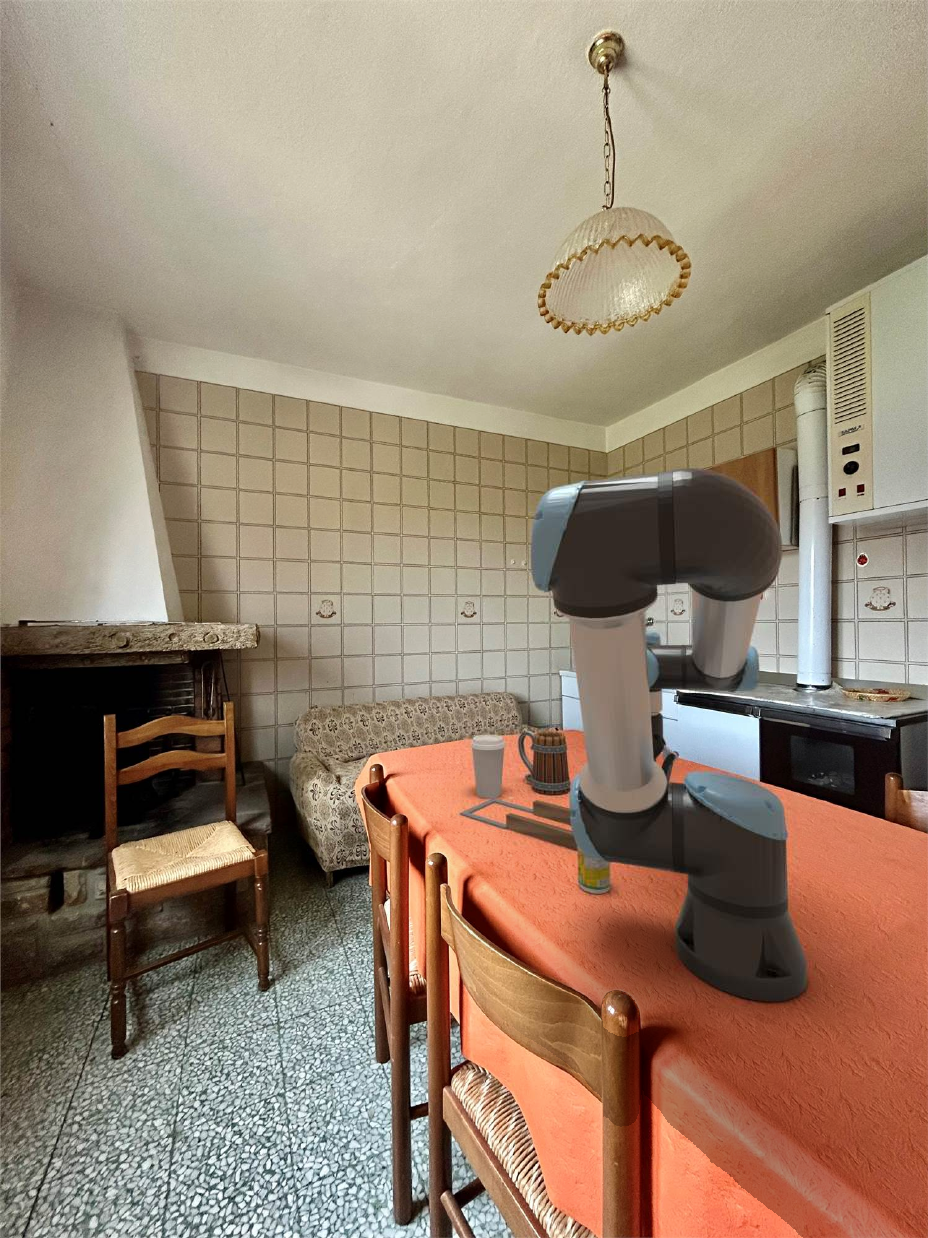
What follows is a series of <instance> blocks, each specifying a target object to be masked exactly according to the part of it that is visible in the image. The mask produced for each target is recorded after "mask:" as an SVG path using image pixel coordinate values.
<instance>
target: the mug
mask: <svg viewBox="0 0 928 1238" xmlns="http://www.w3.org/2000/svg"><path fill="white" fill-rule="evenodd" d="M527 736H528V737H529V738H530V740H531V746H530V747H529V749H530V750H531V751H533V753H532V757H533V759H532V762H531V761H530V759H529V758H528V756H527V753H526V750H525V738H526V737H527ZM567 746H568V745H567V741H566V735H565V734H564V733H563V732H559V731H553V730H552V731H551V730H550V731H549V730H548V731H546V730H545V731H538V732H536V733H534V731H531V730H526V731H523V732H521V733H520V735H519V737H518V740H517V748H518V754H519V756H520V758H521V761H522V762H523V764H524V765H525V767H526V768H527V770H528V771H529V773H527V774H524V778H525V780H526V781H527V782H529V783H530V784H531V788H532V790H533V791H534V792H536V793H538V794H540V795H546V796H558V795H559V796H560V795H564V794H566V793H568V792H569V791H570V790H571V779H570V774H569V772H570V771H569V762H568V753H567V751H568V747H567Z"/></svg>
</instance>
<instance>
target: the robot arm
mask: <svg viewBox="0 0 928 1238" xmlns="http://www.w3.org/2000/svg"><path fill="white" fill-rule="evenodd" d="M533 519H534V520H533V524H532V528H531V529H532V530H531V538H530V539H531V540H530V569H531V570H530V572H531V577H532V581H533V582H534V586H535V588H536V589H537V590H539V591H543V592H544V593H549V592H551V594H552V599H553V600H552V601H553V606H554V609H555V610H556V612H558V613H559V614H560V615H562V616H564V617H565V618H567V619H568V621H569V623H568V624H569V628H570V629H569V631H570V635H571V636H570V639H571V644H572V646H571V647H572V651H573V653H572V654H573V660H574V666H575V674H576V675H575V676H576V682H577V683H576V684H577V689H578V699H579V705H580V712H581V720H582V728H583V736H584V744H585V750H586V751H585V752H586V758H587V761H586V762H585V763H584V765H582V768H581V770H580V772H579V773H577V774H576V775H575V776H574V777H573V779H572V782H571V784H570V790H569V791H570V792H569V808H570V811H571V817H570V820H571V825H570V827H571V831H572V832H573V835H574V839H575V841H576V844H577V846H578V847H579V849H580V850H581V851H582V852H583V853H584V854H585V855H587V856H589V857H593V858H597V859H601V860H604V861H606V862H610V864H612V863H615V864H616V863H617V864H622V865H626V866H634V867H641V868H646V869H653V870H657V871H658V870H659V871H665V872H670V873H671V872H672V873H677V874H682V875H686V876H687V892H686V895H685V898H684V900H683V904H682V906H681V909H680V912H679V915H678V918H677V920H676V923H675V927H674V928H675V930H674V932H675V935H674V936H675V937H674V939H675V940H674V941H675V944H674V945H675V950H676V953H677V955H678V958H679V959H680V961H681V962H682V964H684V966H686V968H687V969H688V970H689V971H691V973H693V974H694V975H695V976H697V977H698V978H699V979H700V980H702V981H704V982H705V983H707V984H709V985H711V986H713V987H714V988H717V989H719V990H721V991H723V992H726V993H728V994H731V995H734V996H737V997H740V998H744V999H749V1000H753V1001H762V1002H782V1001H788V1000H791V999H794V998H797V997H798V996H800V995H801V994H802V993H804V991H805V990H806V988H807V985H808V966H807V965H808V963H807V958H806V955H805V952H804V949H803V946H802V944H801V941H800V939H799V936H798V934H797V931H796V928H795V926H794V922H793V920H792V917H791V914H790V911H789V890H788V887H789V886H788V857H787V856H788V855H787V853H788V852H787V840H788V838H789V832H788V830H787V824H786V814H785V807H784V805H783V802H782V800H780V797H778V796H777V795H776V794H775V793H774V792H772V791H771V790H769V789H768V788H766V787H765V786H762V785H760V784H758V783H755V782H753V781H750V780H747V779H745V778H741V777H738V776H735V775H731V774H728V773H727V774H725V773H721V772H714V771H708V770H707V771H706V770H705V771H691V772H689V773H687V774H686V775H685V778H683V783H682V782H681V783H680V782H672V781H670V779H671V775H672V771H673V766H674V763H675V762H676V761H677V759H678V758H679V755H680V754H679V752H678V751H676V750H675V751H673V750H672V749H671V748H670V747H668V746H667V742H666V741H665V737H664V716H663V714H662V713H661V712H663V690H679V691H682V690H683V691H684V690H686V691H687V690H689V691H705V692H706V691H709V692H710V691H712V692H729V693H737V692H753V691H754V690H756V689H757V688H758V687H759V684H760V683H759V682H760V659H759V652H758V650H757V649H756V646H754V645H750V644H751V641H752V636H753V633H754V627H755V624H756V620H757V616H758V611H759V608H760V603H761V599H762V595H763V593H765V592H766V591H767V590H769V589H770V587H772V585H773V584H774V582H775V581H776V579H777V576H778V574H779V570H780V568H781V567H780V566H781V563H782V559H783V540H782V539H783V538H782V535H781V532H780V529H779V526H778V523H777V521H776V519H775V518H774V516H773V514H772V512H771V510H769V508H768V507H767V505H766V504H765V502H764V501H763V500H762V499H761V498H760V497H758V495H757V494H755V493H754V492H753V491H752V490H750V489H749V488H748V487H747V486H746V485H745V484H743V483H741V482H739V481H737V480H736V479H734V478H732V477H730V476H728V475H727V474H726V475H725V474H724V473H723V474H722V473H720V472H717V471H714V470H709V469H705V468H698V467H697V468H696V467H693V468H692V467H691V468H689V467H687V468H686V467H683V468H676V469H675V468H674V469H672V470H667V471H661V472H652V473H644V474H643V473H641V474H637V475H625V476H621V477H620V476H617V477H610V478H602V479H601V478H600V479H593V480H582V481H579V482H576V483H572V484H566V485H562V486H557V487H554V488H550V489H548V491H546V492H545V493H544V494H543V496H542V497H541V498H540V501H539V502H538V504H537V507H536V510H535V514H534V517H533ZM678 584H687V585H688V586H689V588H690V589H691V644H661V643H662V642H661V635H660V634H659V633H658V632H655V631H646V615H645V613H646V612H647V611H648V610H649V609H651V607H653V605H654V604H655V603H656V602H657V600H658V595H659V594H658V586H663V585H667V586H668V585H678ZM661 754H662V759H663V762H662V765H659V763H657V759H658V757H659V756H660V755H661Z"/></svg>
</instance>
